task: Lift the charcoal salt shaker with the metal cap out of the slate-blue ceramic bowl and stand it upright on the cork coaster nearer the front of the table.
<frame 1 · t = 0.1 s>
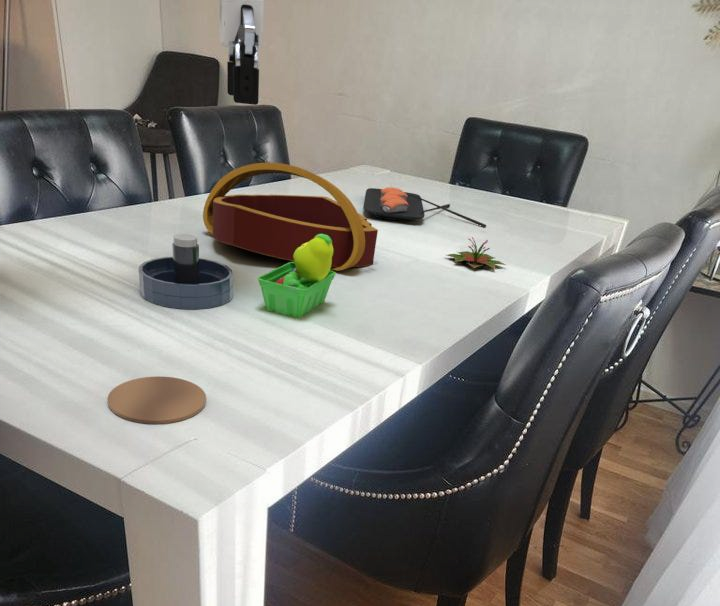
hand: (242, 99, 89), 25 cm above the table, tool pointing down, fingers open, 9 cm apart
bowl: (187, 297, 95), on the table
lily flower: (474, 264, 129), on the table
cork coaster: (157, 400, 69), on the table
fruit basket: (299, 310, 96), on the table
sushi plate: (423, 214, 162), on the table
salt shaker: (187, 293, 95), point 1 cm above the table, touching bowl
decorative basket: (283, 252, 120), on the table
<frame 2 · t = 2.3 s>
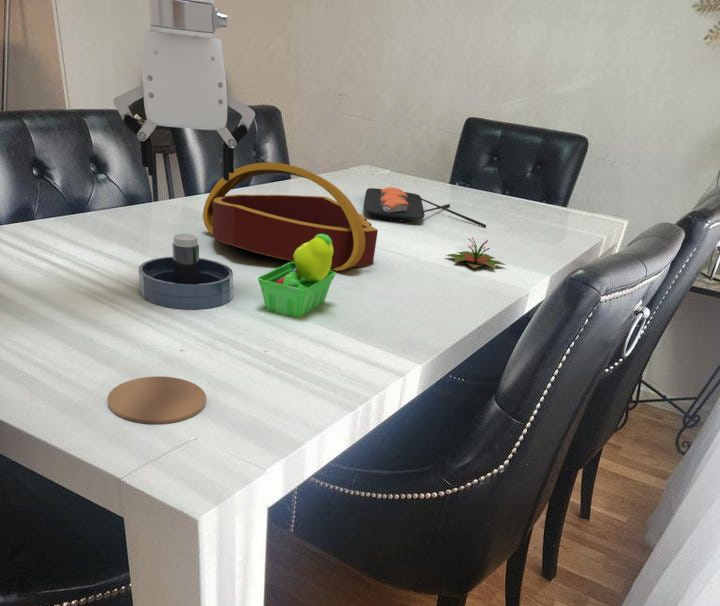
hand: (188, 176, 86), 16 cm above the table, tool pointing down, fingers open, 9 cm apart
nothing on the table moved.
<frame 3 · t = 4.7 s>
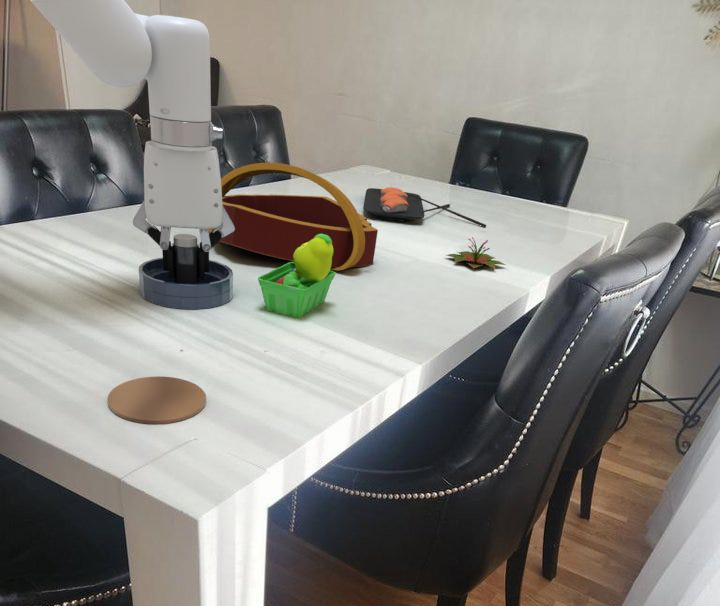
hand: (186, 275, 93), 3 cm above the table, tool pointing down, fingers closed on salt shaker, 3 cm apart
salt shaker: (187, 293, 95), point 1 cm above the table, touching bowl, gripper
everything else where it was.
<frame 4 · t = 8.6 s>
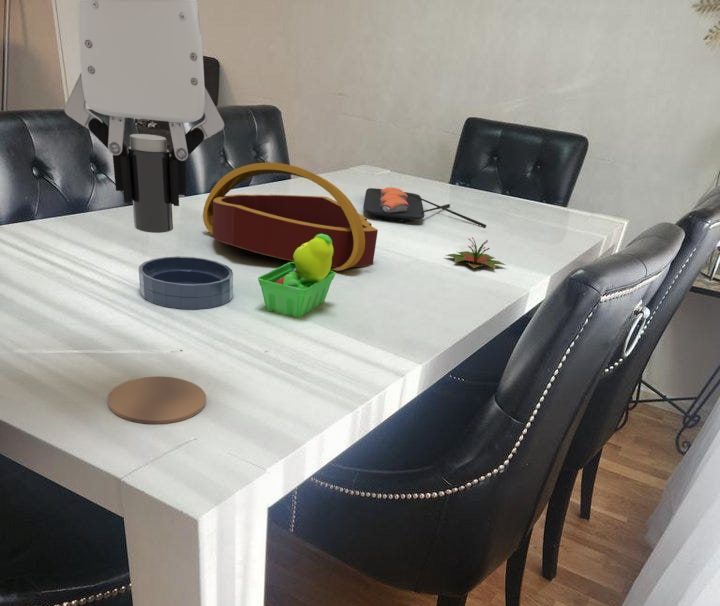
hand: (152, 199, 62), 19 cm above the table, tool pointing down, fingers closed on salt shaker, 3 cm apart
salt shaker: (153, 228, 63), point 16 cm above the table, touching gripper
everything else where it was.
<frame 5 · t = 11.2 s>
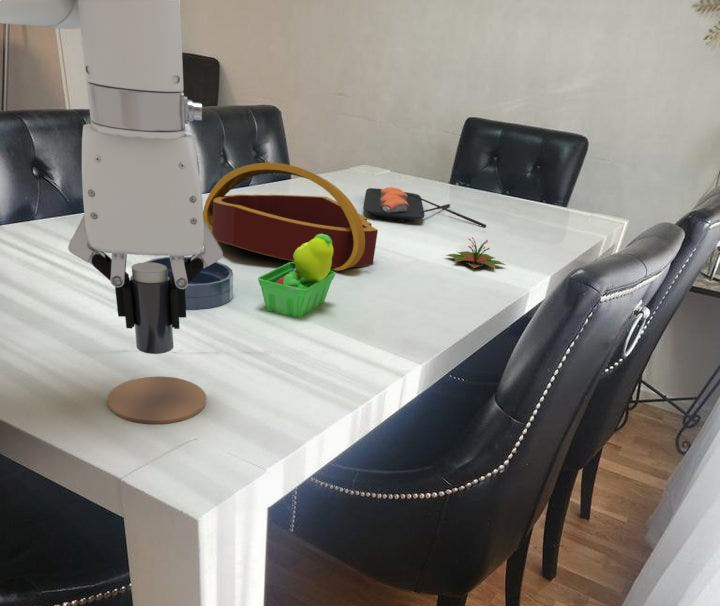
hand: (153, 321, 64), 9 cm above the table, tool pointing down, fingers closed on salt shaker, 3 cm apart
salt shaker: (155, 346, 65), point 6 cm above the table, touching gripper
everything else where it was.
when the fingers open (3 cm above the table, at t = 12.9 s): salt shaker stays where it is, resting on cork coaster.
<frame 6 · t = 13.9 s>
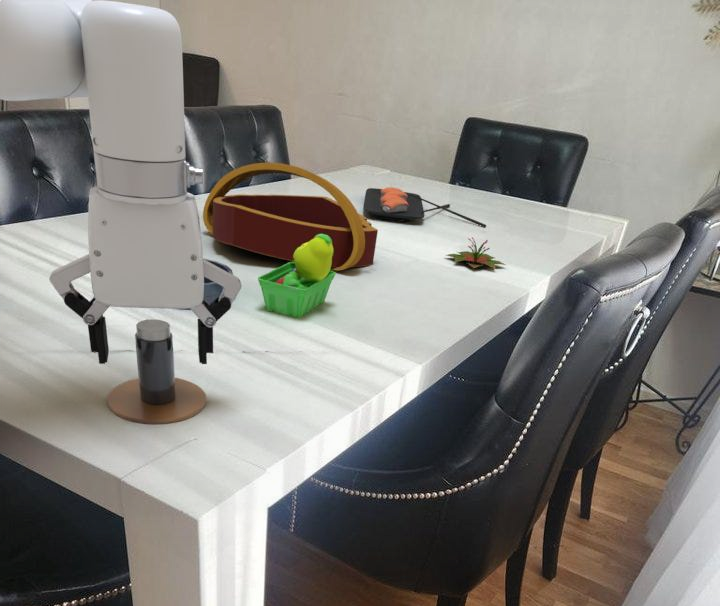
hand: (154, 358, 66), 5 cm above the table, tool pointing down, fingers open, 9 cm apart
salt shaker: (158, 397, 69), resting on cork coaster
everything else where it was.
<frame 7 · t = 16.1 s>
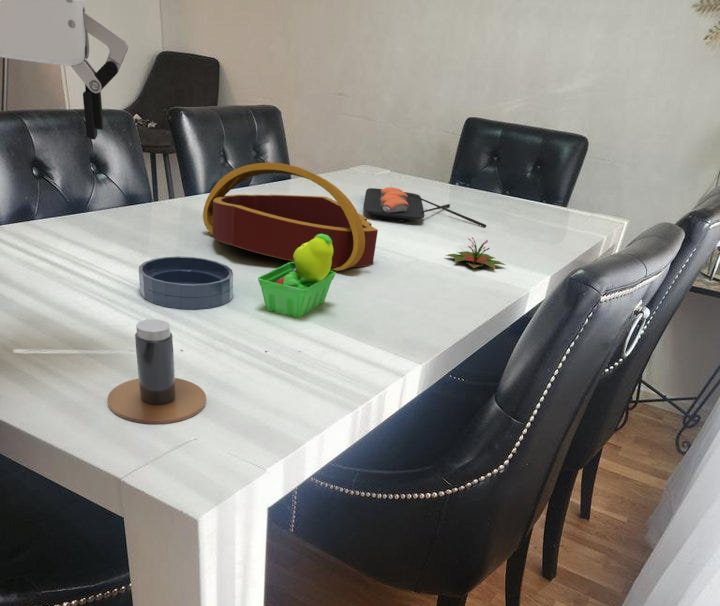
hand: (39, 131, 63), 23 cm above the table, tool pointing down, fingers open, 9 cm apart
nothing on the table moved.
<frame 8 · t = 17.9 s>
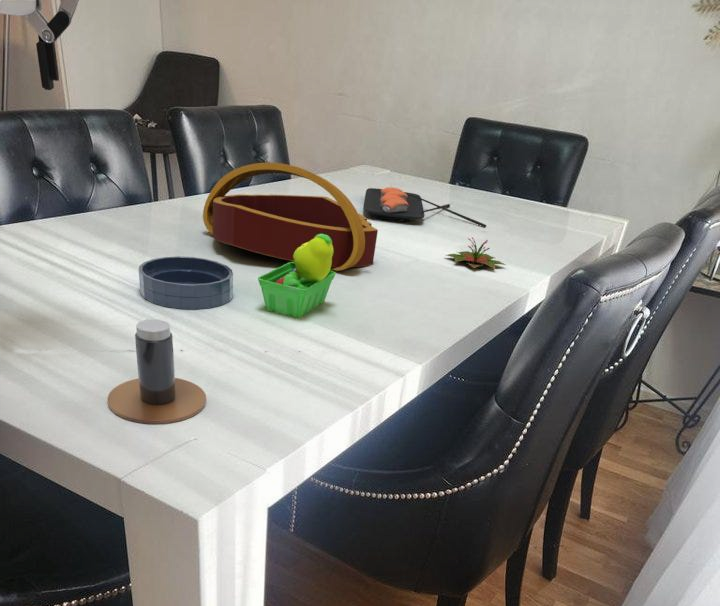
nothing on the table moved.
at the end: salt shaker 0.0 cm off-centre on the cork coaster, point 0.4 cm above the cork coaster's base; salt shaker tilted 0°; salt shaker touching cork coaster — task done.
